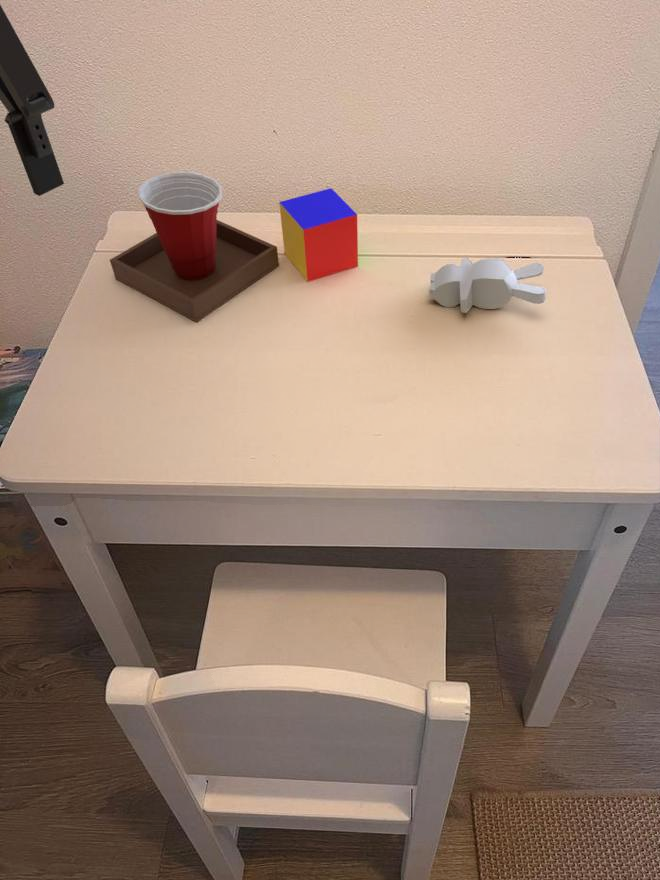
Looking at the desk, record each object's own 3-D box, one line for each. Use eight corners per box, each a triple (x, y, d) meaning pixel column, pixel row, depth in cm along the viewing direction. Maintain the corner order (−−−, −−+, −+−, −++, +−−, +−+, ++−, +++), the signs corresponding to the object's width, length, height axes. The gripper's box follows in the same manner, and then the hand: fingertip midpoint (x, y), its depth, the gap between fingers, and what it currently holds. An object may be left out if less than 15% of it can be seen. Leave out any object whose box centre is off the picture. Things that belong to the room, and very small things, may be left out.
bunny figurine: (431, 251, 98) (543, 245, 96) (433, 283, 102) (541, 278, 100) (427, 292, 92) (547, 287, 90) (430, 324, 96) (545, 320, 94)
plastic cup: (243, 280, 100) (231, 199, 91) (166, 298, 97) (145, 216, 88) (224, 241, 106) (210, 161, 97) (151, 256, 104) (130, 176, 95)
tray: (115, 279, 101) (109, 259, 99) (199, 228, 110) (195, 209, 107) (196, 322, 95) (191, 303, 93) (279, 265, 103) (277, 246, 101)
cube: (307, 281, 101) (303, 229, 95) (284, 253, 105) (279, 202, 99) (357, 266, 103) (357, 214, 97) (333, 239, 108) (331, 188, 101)
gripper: (39, -112, 48) (123, 190, 64) (-151, -154, 58) (-36, 117, 74) (-63, -88, 44) (54, 227, 61) (-248, -138, 54) (-104, 144, 70)
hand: (4, 167), depth 67 cm, fingers open, 13 cm apart
